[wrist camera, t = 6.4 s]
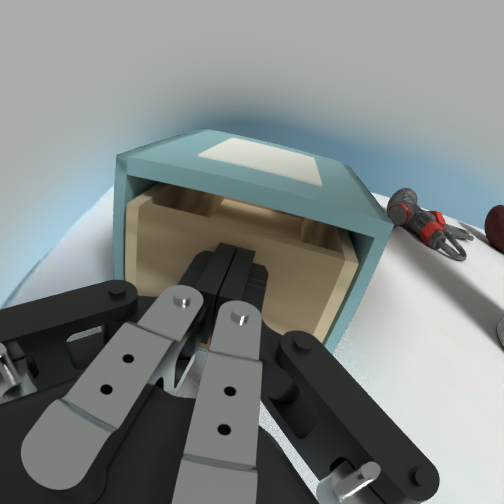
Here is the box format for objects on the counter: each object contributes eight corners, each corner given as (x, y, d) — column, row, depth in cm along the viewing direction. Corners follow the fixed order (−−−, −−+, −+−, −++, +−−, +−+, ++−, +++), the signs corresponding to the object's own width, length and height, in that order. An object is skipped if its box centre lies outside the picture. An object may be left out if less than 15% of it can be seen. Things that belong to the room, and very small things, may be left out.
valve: (415, 272, 37) (365, 210, 48) (488, 278, 46) (447, 232, 57) (440, 235, 33) (382, 177, 44) (506, 253, 42) (461, 208, 53)
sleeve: (186, 232, 28) (203, 127, 23) (313, 266, 27) (348, 163, 23) (116, 321, 16) (116, 152, 12) (318, 378, 16) (395, 222, 11)
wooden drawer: (219, 200, 35) (231, 141, 32) (304, 222, 35) (322, 164, 31) (127, 323, 16) (126, 203, 12) (305, 374, 15) (358, 263, 12)
